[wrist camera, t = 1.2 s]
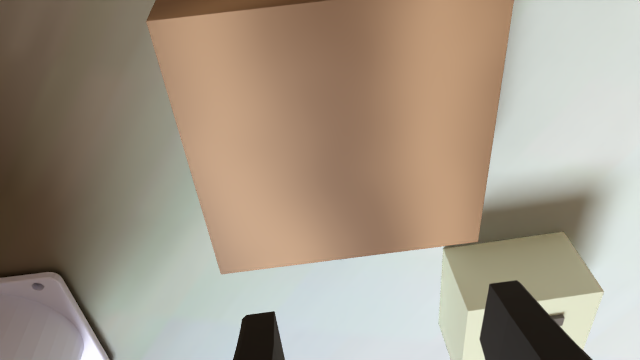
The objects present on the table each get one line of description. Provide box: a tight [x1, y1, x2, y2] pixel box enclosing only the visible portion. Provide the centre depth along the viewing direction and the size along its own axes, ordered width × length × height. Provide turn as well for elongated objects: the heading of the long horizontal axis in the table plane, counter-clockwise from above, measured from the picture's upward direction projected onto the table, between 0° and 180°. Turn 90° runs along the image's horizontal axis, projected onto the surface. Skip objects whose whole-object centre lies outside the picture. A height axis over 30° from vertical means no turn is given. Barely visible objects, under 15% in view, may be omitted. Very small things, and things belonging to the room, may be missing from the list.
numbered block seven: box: [439, 232, 604, 360], centre depth 26 cm, size 6×6×4 cm
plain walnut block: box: [146, 0, 514, 274], centre depth 19 cm, size 10×10×4 cm
